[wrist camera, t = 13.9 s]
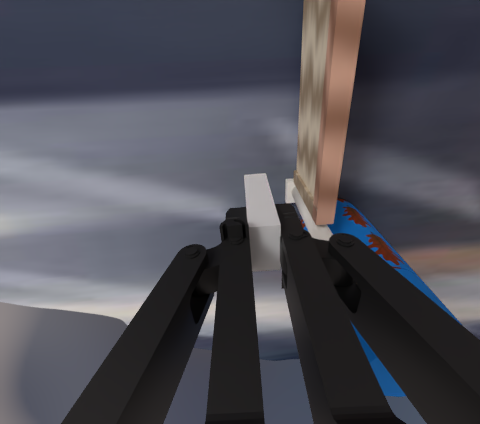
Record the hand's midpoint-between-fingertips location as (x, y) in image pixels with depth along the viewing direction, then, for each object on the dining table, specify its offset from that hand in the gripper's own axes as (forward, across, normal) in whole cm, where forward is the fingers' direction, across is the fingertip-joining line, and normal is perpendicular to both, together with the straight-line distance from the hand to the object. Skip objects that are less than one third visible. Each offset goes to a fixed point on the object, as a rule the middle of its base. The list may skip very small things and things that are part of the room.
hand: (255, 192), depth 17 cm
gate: (+19, +8, +4) cm, 21 cm away
